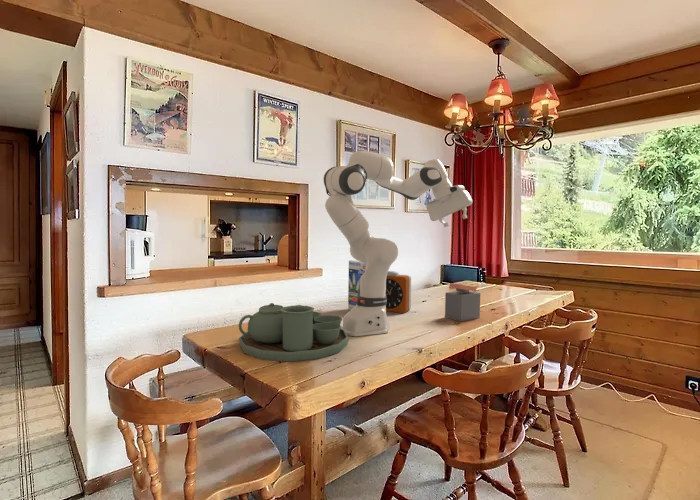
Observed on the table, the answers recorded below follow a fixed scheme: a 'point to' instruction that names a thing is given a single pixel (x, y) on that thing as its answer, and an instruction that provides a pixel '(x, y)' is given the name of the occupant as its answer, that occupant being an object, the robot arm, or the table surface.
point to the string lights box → (355, 280)
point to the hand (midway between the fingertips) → (455, 222)
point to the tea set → (291, 334)
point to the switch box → (462, 305)
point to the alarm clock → (398, 292)
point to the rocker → (462, 288)
